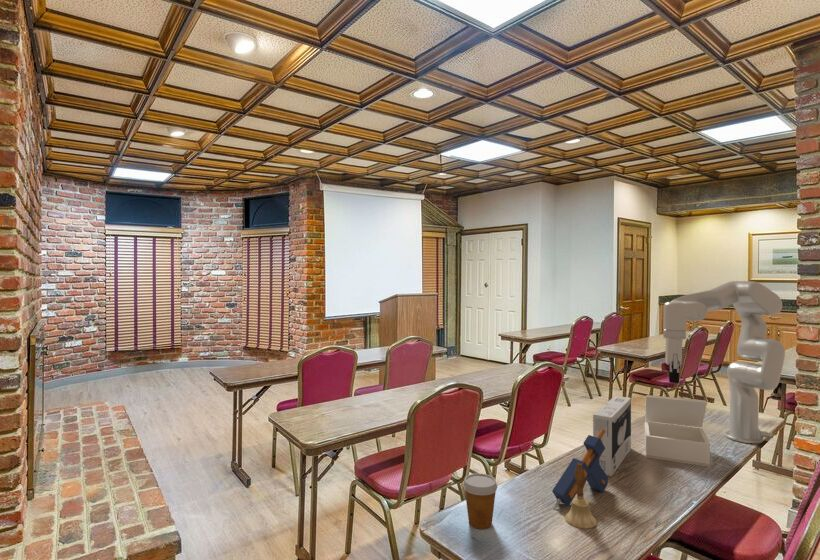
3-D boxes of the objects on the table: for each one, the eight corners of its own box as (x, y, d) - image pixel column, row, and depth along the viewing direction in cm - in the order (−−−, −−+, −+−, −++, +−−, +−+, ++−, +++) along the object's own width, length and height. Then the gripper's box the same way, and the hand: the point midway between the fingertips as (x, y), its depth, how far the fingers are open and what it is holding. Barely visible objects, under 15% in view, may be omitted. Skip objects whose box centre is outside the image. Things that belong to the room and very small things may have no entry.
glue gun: (564, 533, 139) (545, 502, 134) (604, 453, 155) (588, 422, 150) (582, 541, 134) (563, 509, 129) (621, 457, 150) (606, 426, 145)
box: (702, 449, 178) (702, 428, 178) (709, 466, 162) (709, 444, 161) (644, 441, 186) (644, 421, 186) (646, 457, 170) (646, 436, 170)
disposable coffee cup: (504, 522, 127) (504, 479, 127) (485, 537, 120) (485, 491, 120) (475, 510, 133) (475, 469, 133) (456, 524, 126) (455, 480, 126)
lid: (701, 427, 178) (701, 425, 179) (707, 402, 166) (706, 400, 167) (645, 420, 186) (645, 418, 187) (646, 396, 174) (646, 394, 175)
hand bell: (576, 530, 122) (576, 471, 122) (559, 514, 131) (558, 459, 130) (603, 526, 124) (603, 468, 124) (584, 511, 132) (584, 456, 132)
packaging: (611, 476, 155) (611, 417, 154) (592, 471, 158) (592, 414, 158) (631, 448, 179) (631, 397, 179) (614, 445, 183) (614, 395, 182)
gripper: (662, 331, 183) (661, 377, 183) (664, 336, 169) (664, 385, 169) (683, 332, 179) (683, 379, 180) (688, 337, 166) (687, 387, 166)
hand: (673, 382), depth 174 cm, fingers closed
